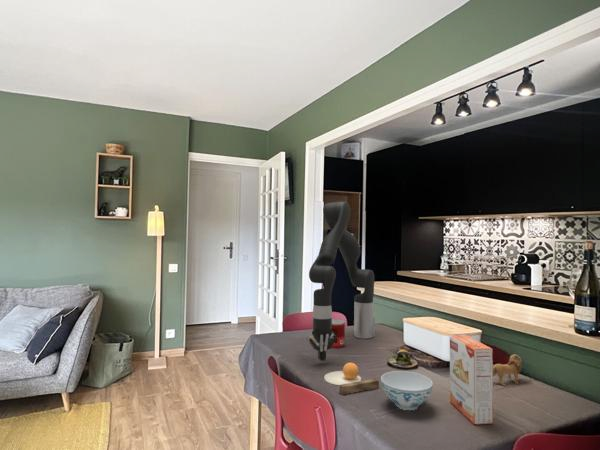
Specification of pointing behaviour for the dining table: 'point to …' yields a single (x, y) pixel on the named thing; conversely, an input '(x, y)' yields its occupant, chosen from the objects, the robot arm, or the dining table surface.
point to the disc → (339, 378)
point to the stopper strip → (358, 386)
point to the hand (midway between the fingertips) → (322, 360)
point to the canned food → (338, 333)
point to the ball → (350, 370)
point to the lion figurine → (508, 369)
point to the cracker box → (471, 378)
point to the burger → (402, 360)
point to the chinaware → (406, 388)
